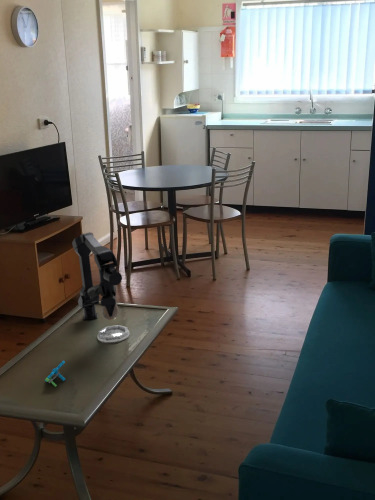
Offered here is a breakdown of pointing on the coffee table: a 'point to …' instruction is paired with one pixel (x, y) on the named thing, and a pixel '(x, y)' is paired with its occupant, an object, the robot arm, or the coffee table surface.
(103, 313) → the vase
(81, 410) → the coffee table surface
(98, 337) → the rosette plate
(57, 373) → the blue green rod structure
